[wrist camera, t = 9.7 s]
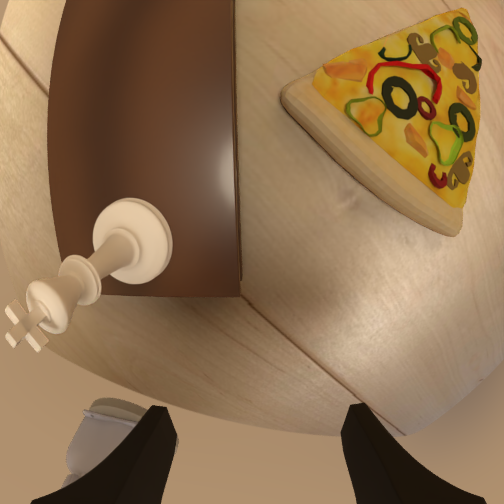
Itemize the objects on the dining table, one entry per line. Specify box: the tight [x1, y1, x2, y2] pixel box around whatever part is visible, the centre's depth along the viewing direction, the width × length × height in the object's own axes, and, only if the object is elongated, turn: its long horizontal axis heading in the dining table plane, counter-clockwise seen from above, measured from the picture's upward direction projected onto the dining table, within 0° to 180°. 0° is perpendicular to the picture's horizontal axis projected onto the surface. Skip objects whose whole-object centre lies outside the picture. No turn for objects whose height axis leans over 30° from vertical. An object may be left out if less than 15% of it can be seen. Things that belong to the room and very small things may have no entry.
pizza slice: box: [281, 8, 482, 237], centre depth 12 cm, size 16×21×3 cm
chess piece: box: [5, 198, 173, 353], centre depth 10 cm, size 5×5×10 cm
